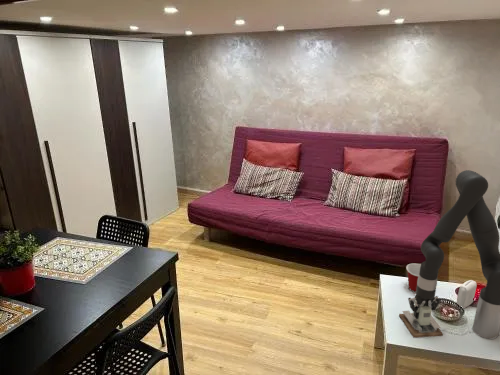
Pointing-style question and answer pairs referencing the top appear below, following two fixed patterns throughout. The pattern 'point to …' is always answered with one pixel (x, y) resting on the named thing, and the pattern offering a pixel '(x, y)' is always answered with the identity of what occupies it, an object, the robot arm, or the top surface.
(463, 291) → the white toy toaster
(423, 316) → the block
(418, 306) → the robot arm
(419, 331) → the grey base plate
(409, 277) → the plastic cup
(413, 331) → the mounting board
